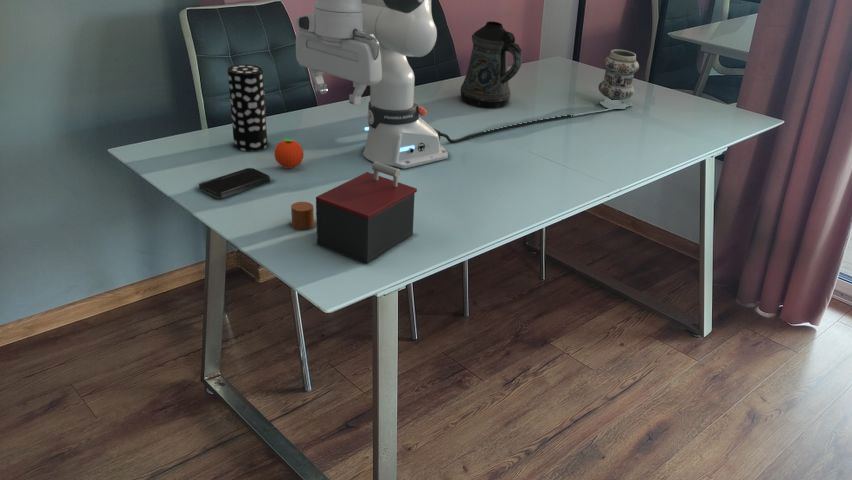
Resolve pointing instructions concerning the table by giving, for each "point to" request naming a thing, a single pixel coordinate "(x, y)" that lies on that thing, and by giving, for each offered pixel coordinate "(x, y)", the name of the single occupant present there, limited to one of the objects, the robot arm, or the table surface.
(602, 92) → the apothecary jar
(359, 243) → the dark grey box
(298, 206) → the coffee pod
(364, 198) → the lid
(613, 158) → the table surface
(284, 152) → the clementine
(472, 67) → the beer stein
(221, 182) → the phone
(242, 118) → the white-spotted black cylinder
